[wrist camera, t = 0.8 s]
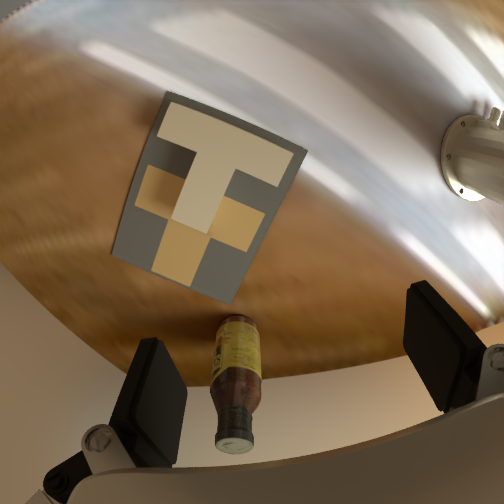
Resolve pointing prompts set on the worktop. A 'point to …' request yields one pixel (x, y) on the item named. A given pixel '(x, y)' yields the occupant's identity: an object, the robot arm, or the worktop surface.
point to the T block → (216, 161)
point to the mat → (189, 239)
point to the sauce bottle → (236, 383)
